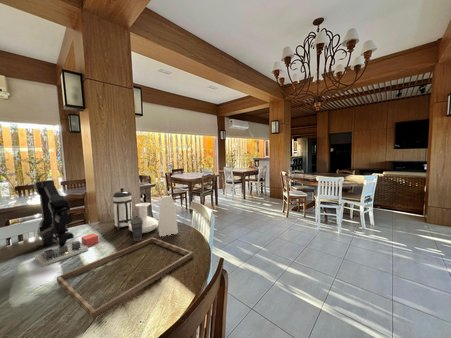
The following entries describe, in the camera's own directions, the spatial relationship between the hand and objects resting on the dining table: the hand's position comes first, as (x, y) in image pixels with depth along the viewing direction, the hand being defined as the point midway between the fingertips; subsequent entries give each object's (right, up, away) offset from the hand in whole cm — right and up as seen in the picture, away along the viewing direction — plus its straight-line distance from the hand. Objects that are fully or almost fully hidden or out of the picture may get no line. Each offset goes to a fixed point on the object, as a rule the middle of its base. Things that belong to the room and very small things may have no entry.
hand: (61, 248), depth 109 cm
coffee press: (+14, 0, +41) cm, 44 cm away
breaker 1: (-1, -2, -6) cm, 7 cm away
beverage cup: (+34, -2, +18) cm, 39 cm away
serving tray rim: (+46, -4, -14) cm, 49 cm away
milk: (+51, -1, +30) cm, 59 cm away
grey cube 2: (+2, -1, -2) cm, 3 cm away
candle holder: (+32, -1, +34) cm, 47 cm away
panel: (+1, -3, 0) cm, 3 cm away
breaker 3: (+5, -1, +4) cm, 7 cm away
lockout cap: (+7, -2, +13) cm, 15 cm away
